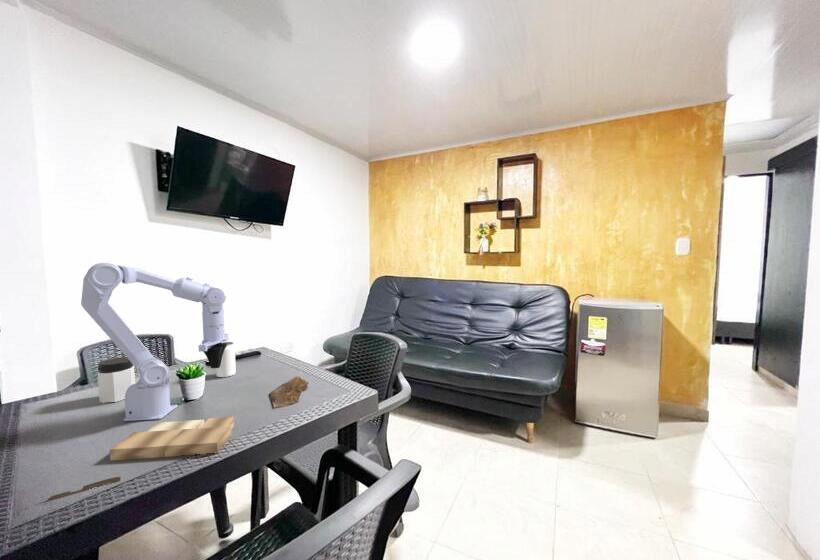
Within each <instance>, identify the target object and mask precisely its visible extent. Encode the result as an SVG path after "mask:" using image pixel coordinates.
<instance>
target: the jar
mask: <svg viewBox="0 0 820 560" xmlns="http://www.w3.org/2000/svg"><path fill="white" fill-rule="evenodd" d="M97 371H98V373H97V385H98V399H99V403H100V402H116V403H118V402H117V401H119V402H121V401H120V400H122V401H124V400H123V399H125V393H126V391H127V389H128V388H129V387H130V386H131V385H133V384H136V376H135V375H136V374H135V373H136V370H135V367H134V365H133V364H132V363H131V361H130V360H129V359H128V358H127V357H126V356H124V357H123V356H121V357H115V358H110V359H106V360H102V361H100V362H99V363H98V364H97Z"/></svg>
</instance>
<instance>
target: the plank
mask: <svg viewBox="0 0 820 560" xmlns="http://www.w3.org/2000/svg"><path fill="white" fill-rule="evenodd" d="M204 423H205V419H194V420H193V419H191V420H179V421H178V420H176V421H175V420H174V421H165V422H157V423H155V424H154V425H153V426H151V427H150V428H149V429H148V430H147V431H164V430H180V429H197V428H200V427H201V426H202V425H203V424H204ZM147 431H145V432H147Z"/></svg>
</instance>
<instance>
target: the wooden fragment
mask: <svg viewBox="0 0 820 560" xmlns="http://www.w3.org/2000/svg"><path fill="white" fill-rule="evenodd" d="M308 384H309V382H308V381H306V380H305V379H303V378H301V377H300V376H295V377H292V378H291V379H290V380H288V381H286V382H285V383H282V384H281V385H279V386H277V387H276V388H275V389H273V390H272V391H270V393H269V396H270V398H271V402H272V403H271V404H272V405H273V410H274V409H280V408H285V407H288V406H290V405H293V404H297V403H299V402H300V401H299V399H300V396H301V393H302V392H304V391H305V390H307V389H308V388H309V387H308Z"/></svg>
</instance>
